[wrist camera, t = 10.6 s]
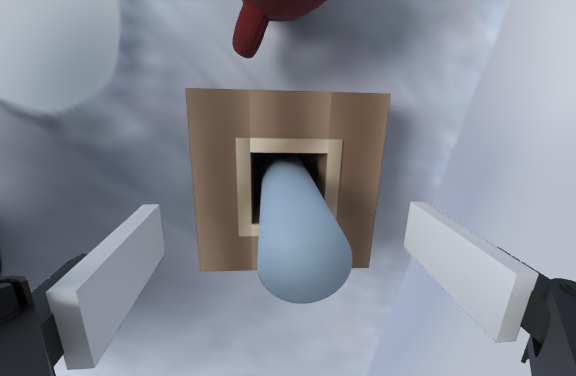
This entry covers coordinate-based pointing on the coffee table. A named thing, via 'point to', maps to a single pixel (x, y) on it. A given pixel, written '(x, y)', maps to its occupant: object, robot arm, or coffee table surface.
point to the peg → (298, 235)
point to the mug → (265, 20)
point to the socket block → (281, 139)
